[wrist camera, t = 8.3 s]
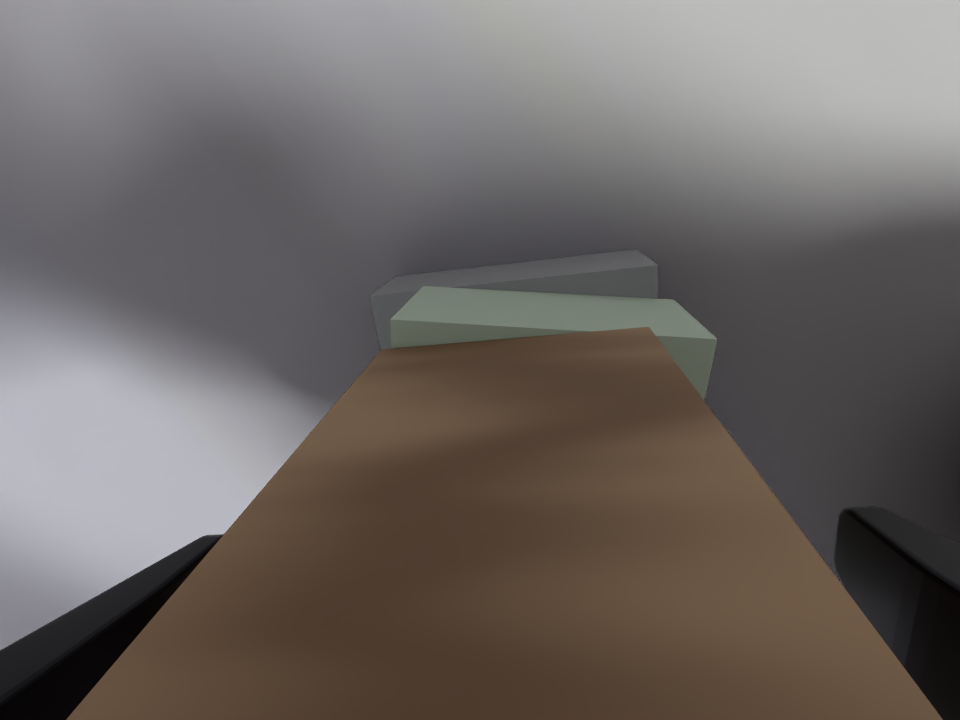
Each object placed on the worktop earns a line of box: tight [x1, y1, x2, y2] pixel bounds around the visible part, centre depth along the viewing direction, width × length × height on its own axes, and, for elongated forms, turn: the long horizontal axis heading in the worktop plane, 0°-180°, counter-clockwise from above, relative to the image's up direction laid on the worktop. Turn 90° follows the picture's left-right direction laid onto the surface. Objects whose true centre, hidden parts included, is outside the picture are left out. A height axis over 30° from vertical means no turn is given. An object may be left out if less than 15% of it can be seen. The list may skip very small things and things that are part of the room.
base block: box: [369, 249, 658, 351], centre depth 14 cm, size 7×7×3 cm
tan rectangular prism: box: [66, 327, 943, 720], centre depth 7 cm, size 5×5×7 cm
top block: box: [390, 286, 718, 401], centre depth 12 cm, size 6×6×3 cm
